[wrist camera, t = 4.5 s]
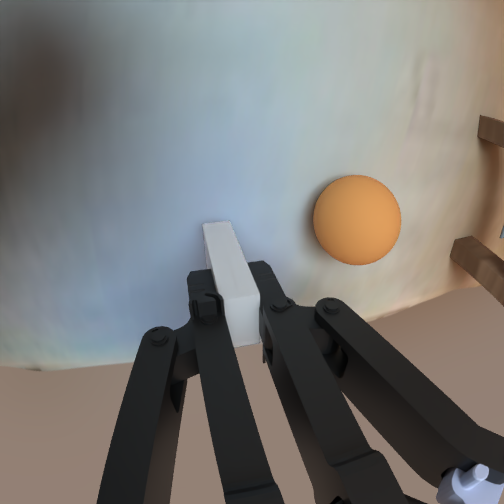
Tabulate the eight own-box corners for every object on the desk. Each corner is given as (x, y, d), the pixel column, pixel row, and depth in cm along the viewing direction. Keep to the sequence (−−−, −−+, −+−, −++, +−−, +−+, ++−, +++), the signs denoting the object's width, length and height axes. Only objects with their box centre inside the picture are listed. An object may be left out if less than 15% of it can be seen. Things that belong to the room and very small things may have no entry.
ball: (298, 243, 22) (332, 291, 17) (301, 166, 19) (344, 200, 14) (365, 232, 23) (407, 273, 18) (374, 162, 20) (426, 192, 15)
